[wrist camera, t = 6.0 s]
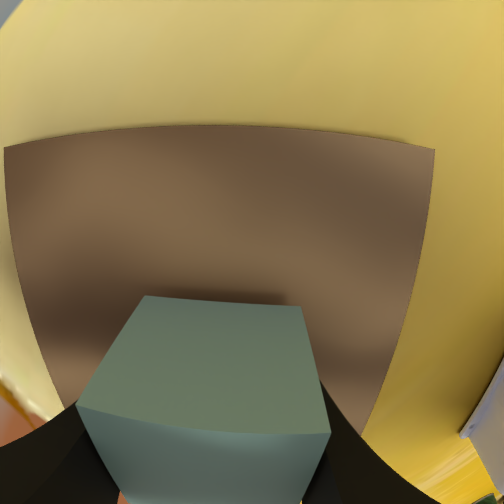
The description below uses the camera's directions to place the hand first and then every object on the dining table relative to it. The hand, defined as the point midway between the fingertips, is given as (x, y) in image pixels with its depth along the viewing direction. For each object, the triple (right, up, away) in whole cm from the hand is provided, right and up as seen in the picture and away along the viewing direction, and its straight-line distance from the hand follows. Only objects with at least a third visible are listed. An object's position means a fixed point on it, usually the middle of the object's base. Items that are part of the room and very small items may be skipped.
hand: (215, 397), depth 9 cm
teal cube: (0, +1, +1) cm, 2 cm away
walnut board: (-1, +1, +4) cm, 4 cm away
